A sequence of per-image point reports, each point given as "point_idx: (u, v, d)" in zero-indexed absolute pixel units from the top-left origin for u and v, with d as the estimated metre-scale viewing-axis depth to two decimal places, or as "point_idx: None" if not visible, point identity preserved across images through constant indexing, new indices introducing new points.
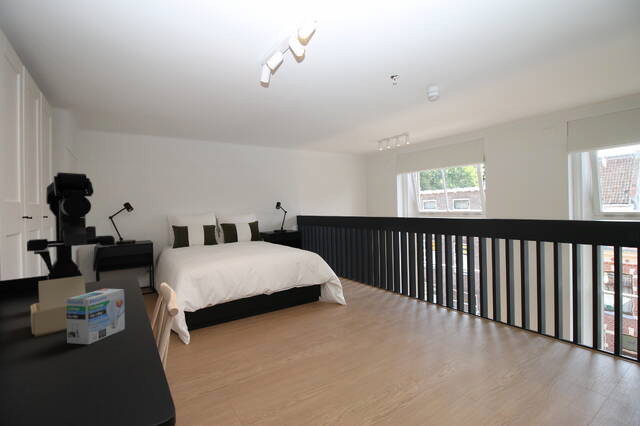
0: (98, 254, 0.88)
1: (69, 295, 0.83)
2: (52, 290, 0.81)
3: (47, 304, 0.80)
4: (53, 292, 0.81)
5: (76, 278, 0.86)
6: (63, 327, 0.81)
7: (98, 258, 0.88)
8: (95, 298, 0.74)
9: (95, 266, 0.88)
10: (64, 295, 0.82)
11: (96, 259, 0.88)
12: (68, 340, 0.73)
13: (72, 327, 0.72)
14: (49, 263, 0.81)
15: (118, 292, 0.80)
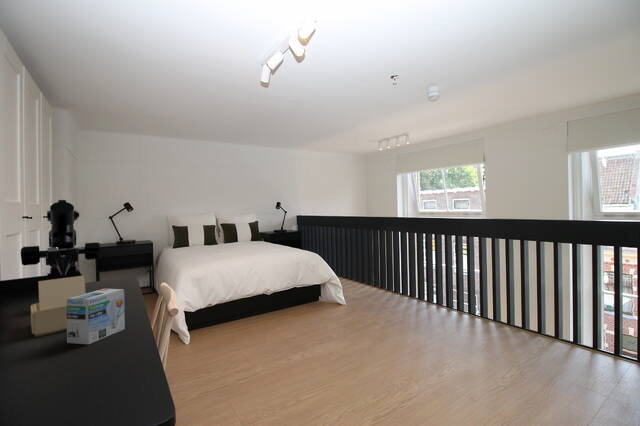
0: None
1: (69, 295, 0.83)
2: (52, 290, 0.81)
3: (47, 304, 0.80)
4: (53, 292, 0.81)
5: (76, 278, 0.86)
6: (63, 327, 0.81)
7: None
8: (95, 298, 0.74)
9: None
10: (64, 295, 0.82)
11: None
12: (68, 340, 0.73)
13: (72, 327, 0.72)
14: None
15: (118, 292, 0.80)
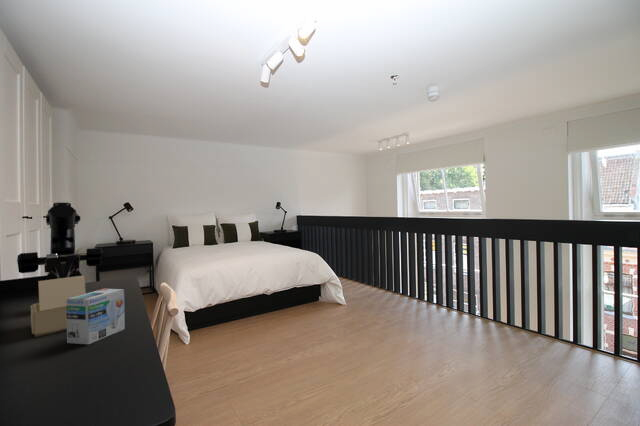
0: None
1: (69, 295, 0.83)
2: (52, 290, 0.81)
3: (47, 304, 0.80)
4: (53, 292, 0.81)
5: (76, 278, 0.86)
6: (63, 327, 0.81)
7: None
8: (95, 298, 0.74)
9: None
10: (64, 295, 0.82)
11: None
12: (68, 340, 0.73)
13: (72, 327, 0.72)
14: None
15: (118, 292, 0.80)
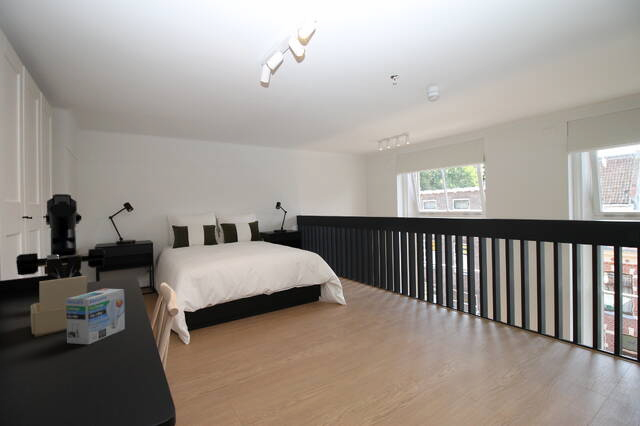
0: None
1: (70, 296, 0.82)
2: (53, 291, 0.79)
3: (48, 305, 0.79)
4: (54, 293, 0.79)
5: (79, 279, 0.82)
6: (63, 327, 0.81)
7: None
8: (95, 298, 0.74)
9: None
10: (65, 296, 0.81)
11: None
12: (68, 340, 0.73)
13: (72, 327, 0.72)
14: None
15: (118, 292, 0.80)
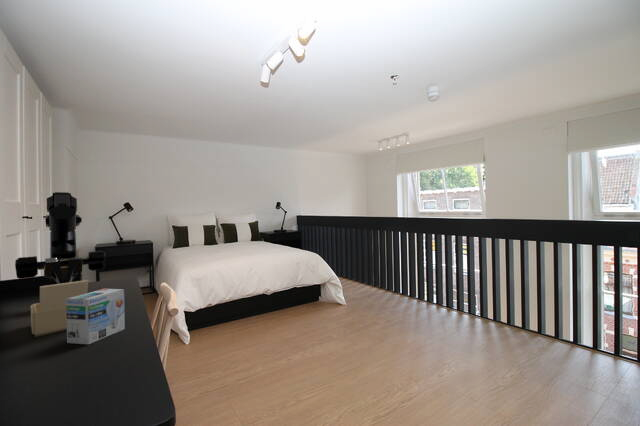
0: None
1: None
2: (54, 294, 0.78)
3: (48, 306, 0.79)
4: (55, 296, 0.78)
5: (80, 283, 0.81)
6: (63, 327, 0.81)
7: None
8: (95, 298, 0.74)
9: None
10: (65, 298, 0.80)
11: None
12: (68, 340, 0.73)
13: (72, 327, 0.72)
14: None
15: (118, 292, 0.80)
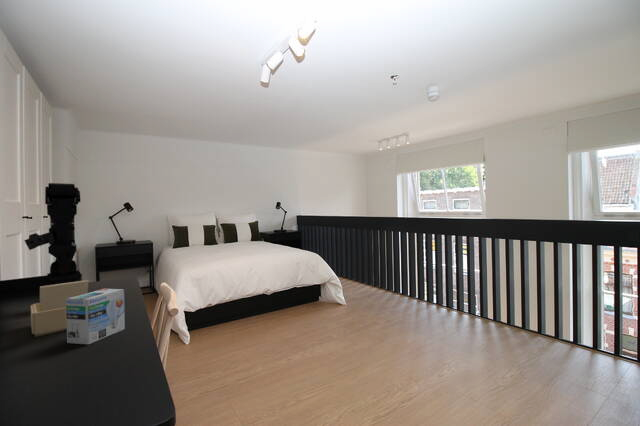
0: (57, 259, 0.93)
1: None
2: (54, 294, 0.78)
3: (48, 306, 0.79)
4: (55, 296, 0.78)
5: (80, 283, 0.81)
6: (63, 327, 0.81)
7: (58, 263, 0.93)
8: (95, 298, 0.74)
9: (60, 270, 0.94)
10: (65, 298, 0.80)
11: (58, 263, 0.93)
12: (68, 340, 0.73)
13: (72, 327, 0.72)
14: None
15: (118, 292, 0.80)
